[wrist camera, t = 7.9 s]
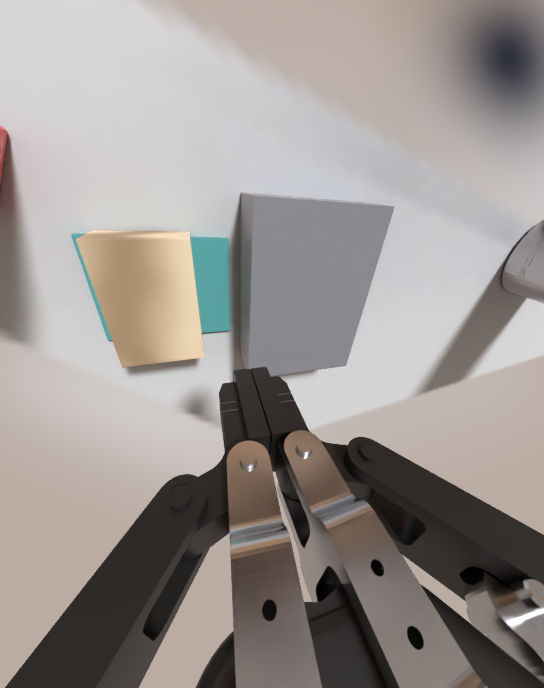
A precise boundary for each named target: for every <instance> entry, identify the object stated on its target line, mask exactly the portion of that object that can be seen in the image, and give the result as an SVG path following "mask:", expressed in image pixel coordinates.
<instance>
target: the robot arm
mask: <svg viewBox="0 0 544 688" xmlns="http://www.w3.org/2000/svg"><path fill="white" fill-rule="evenodd" d="M502 285H503V287H504V289H505V290H506V291H509V292H512V293H515V294H518V295H521V296H523V297H526V298H529V299H532V300H535V301H538V302H541V303H543V304H544V220H543V221H541V222H540V223H539V224H537V225H536V226H535V227H534V228H533V229H531V230H530V231H529V232H528V233H527V235H526V236H525V237H524V238H523V239H522V240H521V241H520V243H519V244H518V245H517V246H516V248H515V249H514V251H513V252H512V254H511V255H510V257H509V259H508V261H507V263H506V265H505V268H504V271H503V275H502ZM219 400H220V415H221V424H222V432H223V440H224V447H225V454H224V456H223V458H222V460H221V461H220V462H219V464H218V465H217V466H215V467H214V468H213V469H211V470H210V471H208V472H206V473H204V474H203V475H201V476H199V477H197V476H194V475H190V474H185V475H180V476H177V477H174V478H173V479H171V480H169V481H168V482H167V483H166V484H165V485H164V486H163V487H162V488H161V489H160V490H159V492H158V493H157V494H156V496H155V497H154V498H153V499H152V501H151V502H150V503H149V504H148V506H147V507H146V509H145V510H144V511H143V512H142V513H141V515H140V516H139V517H138V519H137V520H136V521H135V522H134V524H133V525H132V526H131V528H130V529H129V530H128V531H127V533H126V534H125V535H124V536H123V538H122V539H121V540H120V541H119V543H118V544H117V545H116V547H115V548H114V549H113V550H112V552H111V553H110V554H109V556H108V557H107V558H106V560H105V561H104V562H103V563H102V565H101V566H100V567H99V568H98V570H97V571H96V572H95V573H94V575H93V576H92V577H91V579H90V580H89V581H88V582H87V584H86V585H85V586H84V587H83V589H82V590H81V591H80V593H79V594H78V595H77V596H76V598H75V599H74V600H73V602H72V603H71V604H70V605H69V607H68V608H67V609H66V611H65V612H64V613H63V614H62V616H61V617H60V618H59V620H58V621H57V622H56V623H55V625H54V626H53V627H52V628H51V630H50V631H49V632H48V634H47V635H46V636H45V637H44V639H43V640H42V641H41V642H40V644H39V645H38V646H37V648H36V649H35V650H34V651H33V653H32V654H31V655H30V656H29V658H28V659H27V660H26V662H25V663H24V664H23V665H22V667H21V668H20V669H19V671H18V672H17V673H16V674H15V676H14V677H13V678H12V680H11V681H10V682H9V683H8V685H7V686H6V687H5V688H139V686H140V684H141V682H142V680H143V678H144V676H145V674H146V672H147V670H148V668H149V666H150V664H151V662H152V660H153V658H154V656H155V654H156V652H157V650H158V648H159V646H160V645H161V642H162V641H163V639H164V637H165V635H166V633H167V631H168V629H169V627H170V625H171V623H172V621H173V619H174V617H175V615H176V613H177V611H178V609H179V607H180V605H181V603H182V601H183V599H184V597H185V596H186V593H187V591H188V590H189V588H190V586H191V584H192V582H193V580H194V578H195V576H196V574H197V572H198V570H199V568H200V566H201V564H202V562H203V560H204V558H205V556H206V554H207V552H208V550H209V548H210V547H211V546H212V545H214V544H215V543H216V542H218V541H219V540H221V539H222V538H223V537H224V536H226V535H227V534H228V533H230V556H231V579H232V602H233V627H234V631H233V632H232V633H231V634H230V635H229V636H228V637H227V638H226V639H225V640H224V641H223V642H222V644H221V645H220V646H219V648H218V649H217V650H216V652H215V653H214V655H213V656H212V658H211V659H210V661H209V663H208V664H207V666H206V668H205V670H204V672H203V674H202V676H201V678H200V680H199V682H198V684H197V686H196V688H544V535H543V534H541V533H539V532H537V531H535V530H534V529H532V528H530V527H528V526H526V525H525V524H523V523H521V522H519V521H518V520H516V519H514V518H512V517H510V516H509V515H507V514H505V513H503V512H501V511H500V510H498V509H496V508H494V507H492V506H491V505H489V504H487V503H485V502H483V501H482V500H480V499H478V498H476V497H474V496H472V495H471V494H469V493H467V492H465V491H464V490H462V489H460V488H458V487H456V486H455V485H453V484H451V483H449V482H447V481H446V480H444V479H442V478H440V477H438V476H437V475H435V474H433V473H431V472H429V471H428V470H426V469H424V468H422V467H420V466H419V465H417V464H415V463H413V462H412V461H410V460H408V459H406V458H404V457H403V456H401V455H399V454H397V453H395V452H394V451H392V450H390V449H388V448H386V447H385V446H383V445H381V444H379V443H377V442H375V441H374V440H372V439H369V438H365V437H357V438H354V439H352V440H351V441H350V442H349V444H348V445H339V444H331V443H326V442H323V441H321V440H320V439H319V438H318V437H317V436H316V435H314V434H312V433H311V432H310V431H309V430H308V428H307V426H306V424H305V421H304V419H303V417H302V415H301V413H300V411H299V409H298V407H297V404H296V402H295V401H294V398H293V396H292V394H291V392H290V390H289V388H288V385H287V383H286V382H285V381H283V380H282V379H281V378H280V377H279V376H277V377H271V376H270V374H269V371H268V369H267V367H258V368H250V369H242V370H233V382H231V383H224V384H222V387H221V389H220V392H219ZM274 471H275V472H276V475H277V479H278V493H279V497H280V499H281V502H282V505H283V508H284V511H285V514H286V516H287V519H288V522H289V525H290V528H291V530H292V533H293V536H294V539H295V542H296V545H297V548H298V551H299V555H300V563H301V569H302V573H303V576H304V580H305V583H306V586H307V589H308V592H309V594H310V597H311V600H312V602H304V600H303V596H302V591H301V586H300V582H299V577H298V572H297V567H296V563H295V558H294V553H293V548H292V544H291V540H290V536H289V533H288V530H287V528H286V526H285V525H284V523H283V521H282V516H281V512H280V507H279V502H278V497H277V492H276V487H275V483H274V477H273V472H274ZM401 554H402V555H404V556H405V557H407V558H408V559H409V560H410V561H412V562H413V563H415V564H416V565H417V566H419V567H420V568H421V569H423V570H424V571H425V572H427V573H428V574H429V575H431V576H432V577H434V578H435V579H437V580H438V581H439V582H440V583H442V584H443V585H444V586H446V587H447V588H448V589H450V590H451V591H453V592H454V593H455V594H457V595H458V596H459V597H461V598H462V599H463V600H465V601H466V603H467V606H468V607H467V614H468V617H469V619H470V621H471V623H472V624H473V626H472V625H471V624H470V623H469V622H468V621H466V620H465V619H464V618H463V617H461V616H460V615H459V614H458V613H456V612H455V611H454V610H453V609H452V608H450V607H449V606H448V605H447V604H445V603H444V602H443V601H442V600H440V599H439V598H438V597H437V596H435V595H434V594H433V593H432V592H430V591H429V590H428V589H426V588H425V587H423V586H422V585H420V583H419V582H418V580H417V579H416V577H415V575H414V574H413V572H412V571H411V569H410V567H409V566H408V564H407V563H406V561H405V560H404V558H403V556H402V555H401ZM484 634H485V635H486V636H487V637H488V638H487V637H486V636H485V635H484Z"/></svg>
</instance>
